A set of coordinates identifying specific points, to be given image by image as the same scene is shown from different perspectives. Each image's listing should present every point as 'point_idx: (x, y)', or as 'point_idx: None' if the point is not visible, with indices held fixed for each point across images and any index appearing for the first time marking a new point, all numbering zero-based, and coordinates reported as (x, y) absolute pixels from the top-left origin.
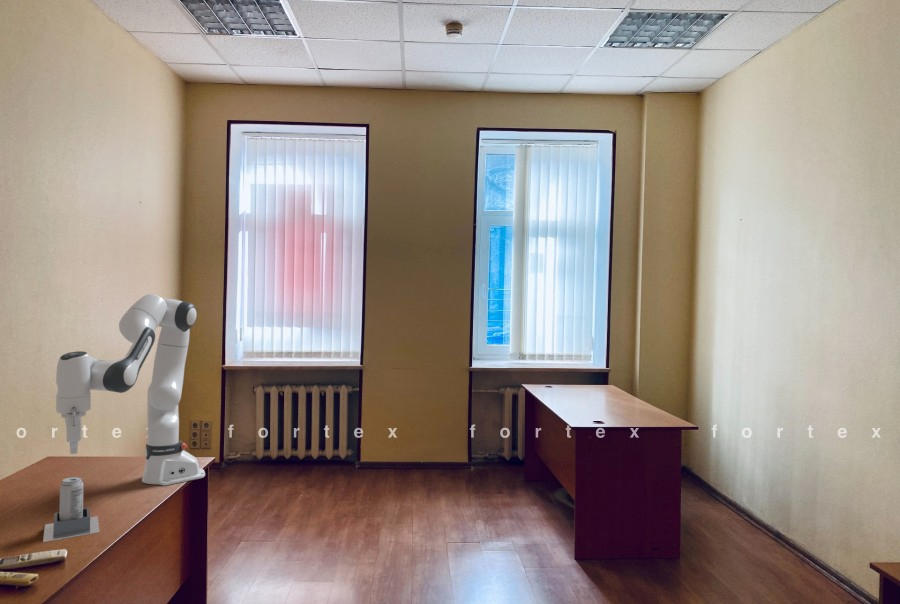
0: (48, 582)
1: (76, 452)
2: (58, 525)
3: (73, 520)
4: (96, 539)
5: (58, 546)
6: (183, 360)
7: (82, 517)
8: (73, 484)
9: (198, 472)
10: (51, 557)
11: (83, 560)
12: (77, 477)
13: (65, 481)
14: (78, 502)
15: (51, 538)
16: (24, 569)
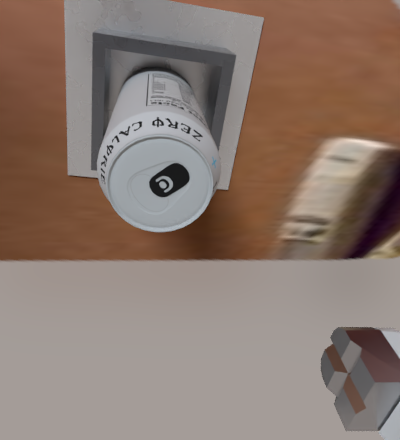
0: None
1: (396, 337)
2: None
3: (223, 118)
4: (327, 43)
5: (294, 156)
6: None
7: (219, 84)
8: (214, 175)
9: None
10: (360, 178)
11: None
12: (124, 151)
13: (182, 219)
14: (202, 114)
15: (221, 168)
16: (381, 232)
